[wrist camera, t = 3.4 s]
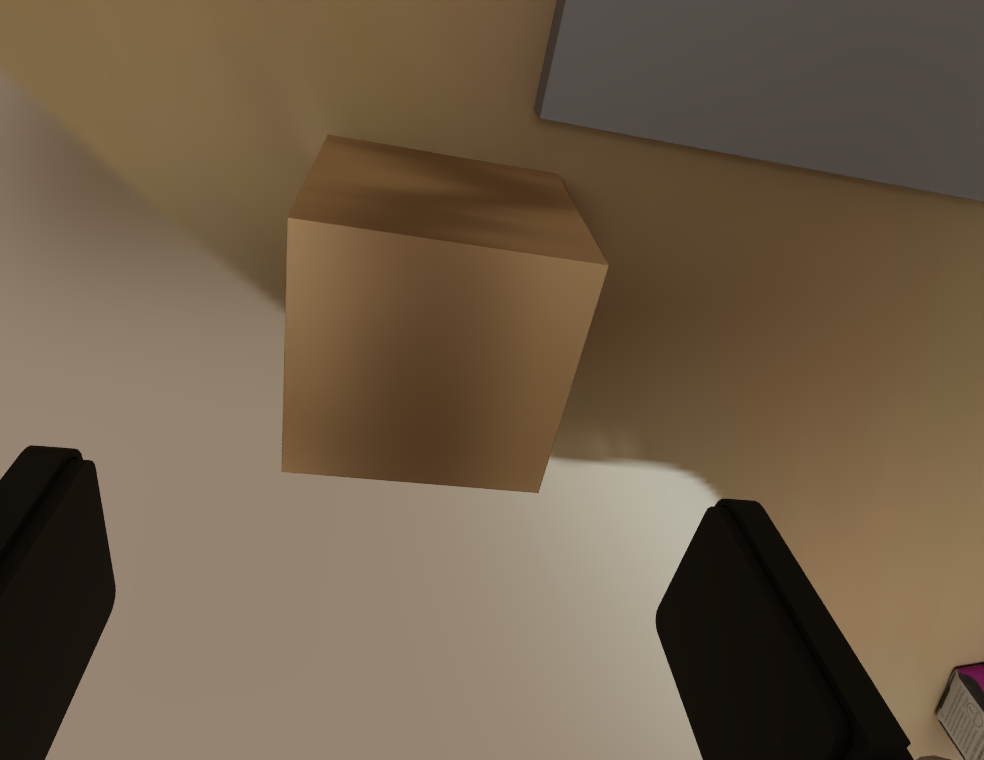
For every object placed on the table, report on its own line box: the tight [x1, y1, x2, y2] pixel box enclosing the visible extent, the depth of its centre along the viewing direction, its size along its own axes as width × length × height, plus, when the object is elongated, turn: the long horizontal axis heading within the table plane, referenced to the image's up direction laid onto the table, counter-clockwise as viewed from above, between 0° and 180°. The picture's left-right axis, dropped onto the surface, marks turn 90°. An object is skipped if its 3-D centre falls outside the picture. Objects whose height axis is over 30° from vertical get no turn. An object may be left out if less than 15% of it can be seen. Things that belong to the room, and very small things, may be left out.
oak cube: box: [282, 135, 609, 493], centre depth 16 cm, size 6×6×6 cm
